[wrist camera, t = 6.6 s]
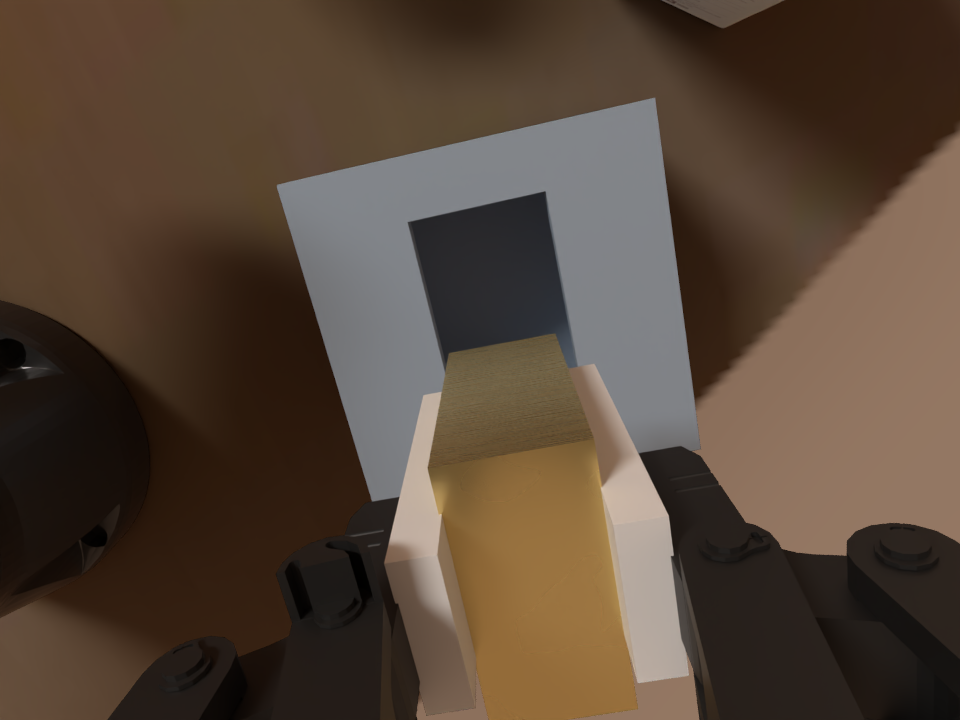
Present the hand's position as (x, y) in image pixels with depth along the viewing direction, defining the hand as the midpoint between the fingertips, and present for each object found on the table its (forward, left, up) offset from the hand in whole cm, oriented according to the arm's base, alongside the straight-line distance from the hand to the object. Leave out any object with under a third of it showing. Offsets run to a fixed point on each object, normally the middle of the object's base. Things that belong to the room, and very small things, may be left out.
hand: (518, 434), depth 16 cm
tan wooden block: (0, 0, -1) cm, 1 cm away
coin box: (0, +1, -17) cm, 17 cm away
